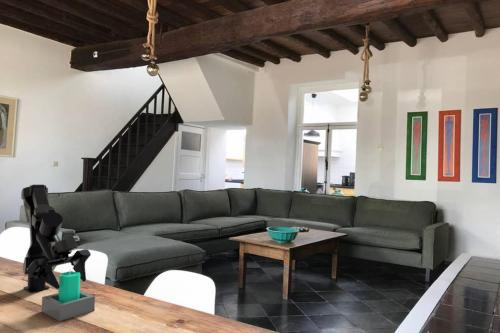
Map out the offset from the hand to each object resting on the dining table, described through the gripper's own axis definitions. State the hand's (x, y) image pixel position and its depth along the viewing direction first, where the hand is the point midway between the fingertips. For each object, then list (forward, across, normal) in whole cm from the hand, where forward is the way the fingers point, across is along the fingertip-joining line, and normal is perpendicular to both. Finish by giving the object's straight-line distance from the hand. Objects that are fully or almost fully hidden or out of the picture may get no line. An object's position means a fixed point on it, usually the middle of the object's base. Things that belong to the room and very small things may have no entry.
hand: (72, 284), depth 119 cm
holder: (+5, 0, +7) cm, 9 cm away
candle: (+4, 0, +7) cm, 8 cm away
